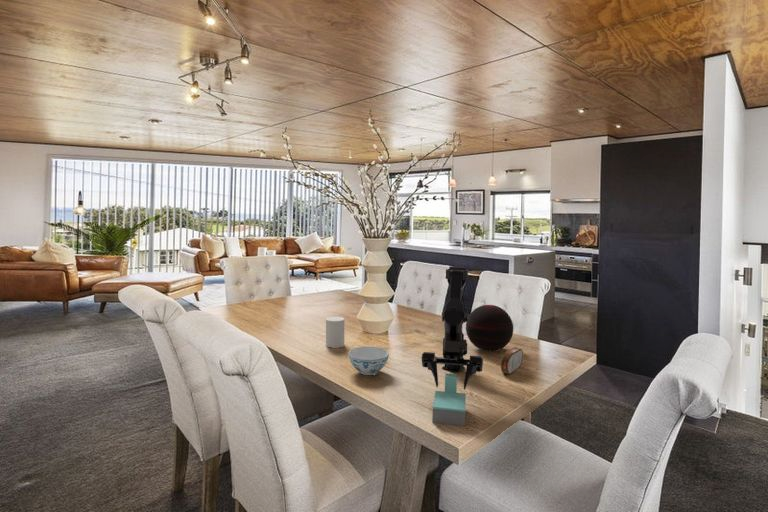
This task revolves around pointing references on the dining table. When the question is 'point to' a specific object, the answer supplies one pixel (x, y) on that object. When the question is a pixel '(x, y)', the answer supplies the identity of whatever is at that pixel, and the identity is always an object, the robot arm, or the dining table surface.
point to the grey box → (448, 417)
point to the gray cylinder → (335, 332)
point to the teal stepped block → (450, 396)
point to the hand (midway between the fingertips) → (450, 387)
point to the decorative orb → (489, 328)
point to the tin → (511, 360)
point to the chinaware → (368, 359)
